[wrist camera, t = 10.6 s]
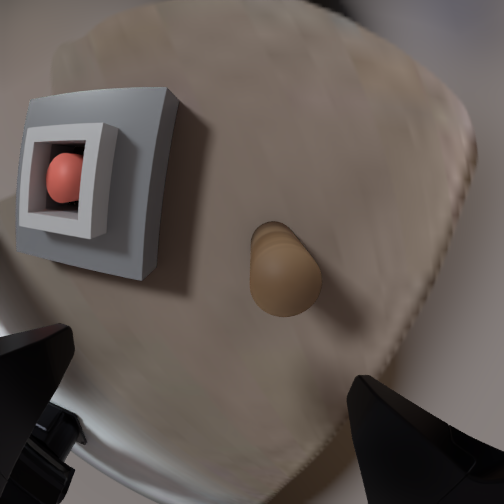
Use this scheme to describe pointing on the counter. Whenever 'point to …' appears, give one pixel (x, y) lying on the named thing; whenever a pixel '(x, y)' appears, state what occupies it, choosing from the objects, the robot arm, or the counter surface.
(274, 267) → the tapered wooden peg
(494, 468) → the robot arm
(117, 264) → the button box
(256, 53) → the counter surface
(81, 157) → the plunger
